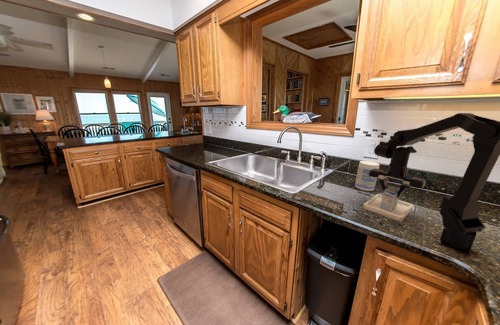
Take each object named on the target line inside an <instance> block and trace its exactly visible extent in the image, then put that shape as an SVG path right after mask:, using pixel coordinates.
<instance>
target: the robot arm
mask: <svg viewBox="0 0 500 325" xmlns="http://www.w3.org/2000/svg"><path fill="white" fill-rule="evenodd" d="M457 129H461V130H463V131H464V132H467V133H469V134H472V135H473V139H472V144H473V150H474V151H473V154H472V156H471V159H470V160H469V163H468V164H467V168H466V169H465V172H464V174H463V176H462V178H461V181H460V183H459V185H458V187H457V189H456V192H455V193H454V195H451V196H444V197H443V198H442V200H441V204H440V206H438V209H440V210H439V214H440V215H441V218H442V220H441V221H442V226H443V229H442V232H441V235H440V237H439V240H440V245H442V246H445V247H447V248H450V249H452V250H455V251H457V252H461V253H462V254H465V255H468V256H470V255H471V253H472V252H471V250H472V247H473V244H474V242H475V240H476V237H477V232H478V233H480V232H482V231H483V230H485V229H486V226H485V224H484V223H483V222H482V221H481V219H480V218H479V216H478V214H479V209H480V205H479V200H478V199H479V197H480V194H481V193H482V190H483V189H484V187H485V185H486V183H487V181H488V179H489V177H490V175H491V173H492V171H493V169H494V167H495V165H496V163H497V161H498V159H499V157H500V120H496V119H494V118H493V119H492V118H487V117H484V116H480V115H476V114H474V113H471V112H458V113H455V114H453V115H452V116H449V117H445V118H442V119H440V120H437V121H434V122H432V123H429V124H426V125H422V126H420V127H417V128H411V129H410V128H409V129H403V130H398V131H395V132H394V133H393V135H392V137H390V139H389V140H388V141H379V143H378V144H377V145H376V146H375V148H374V149H373V153H374V155H375V156H377V157H381V158H385V159H390V162H389V164H388V168H387V169H388V171H387V172H384V170H383V169H380V168H379V169H376V168H374V169H372V170H370V171H369V175H368V176H371V177H375V178H376V177H377V180H376V181H379V183H380V186H381V189H382V193H383V192H384V190H385V189H387V188H388V182H389V179H391V180H394V181H395V180H396V181H400V182H402V183H401V184H400V186H399V192H398V194H397V198H399V199H400V197H401V195H402V194H403V193H404V191H405V190H406V189H407V188H408V189H409V188H411V187H412V188H417V189H423V188H424V187H425V186H426V182H427V181H426V179H425V178H421V177H418V176H412V177H411V178H410V177H407V176H408V172H409V167H408V163H409V159H410V156H411V154H415V153H417V150H416V149H415V148H414V146H413V145H414V144H417V143H419V142H421V141H422V140H424V139H425V138H426V139H427V138H428V137H429V138H430V137H432V136H436V135H438V134H443V133H446V132H450V131H452V130H457ZM406 146H407V147H406Z"/></svg>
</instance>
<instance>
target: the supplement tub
mask: <svg viewBox="0 0 500 325" xmlns="http://www.w3.org/2000/svg"><path fill="white" fill-rule="evenodd" d="M374 168H376V169H380V164H379V163H378V162H375V161H370V160H360V161H359V164H358V168H357V171H356V172H357V173H356V178H355V183H354V186H355V188H357V189H359V190H362V191H365V192H372V191H374V190H375V187H376V184H377V181H378V180H377V178H378V177H376V178H375V177H371V176H368V175H369V171H370V170H372V169H374Z"/></svg>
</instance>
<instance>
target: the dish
mask: <svg viewBox="0 0 500 325" xmlns="http://www.w3.org/2000/svg"><path fill="white" fill-rule="evenodd" d="M382 196H383V194H381V193H377V194H376V195H374V196H373V197H372V198H370V199H369V200H367V201H366V202H364V203H363V205H362V209H363V210H365V211H369V212H371V213H375V214H377V215H379V216H382V217H385V218H387V219H390V220H393V221H395V222H399V223H402V222H403V221H404V219H405V218H406V217H407V216H408V215H409V214H410V212H411V211H412V210H413V208H414V203H410V202H407V201H403V200H400V199H399V200H398V203H397V206H396V207H395V208H394V209H393V210H392V211H391V212H390V211H387V210H384V209H381V208H380V205H381V201H382Z"/></svg>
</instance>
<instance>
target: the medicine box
mask: <svg viewBox="0 0 500 325" xmlns="http://www.w3.org/2000/svg"><path fill="white" fill-rule="evenodd" d="M399 189H400V187H395V186H391V185H389V186H387V189H385V190H384V192H383V191H382V195H383V196H382V201H381V205H380V208H381V209H384V210H387V211H390V212H391V211H392V210H393V209H394V208H395V207H396V206H397V203H398V200H400V197H399V198H397V194H398V192H399Z"/></svg>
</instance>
